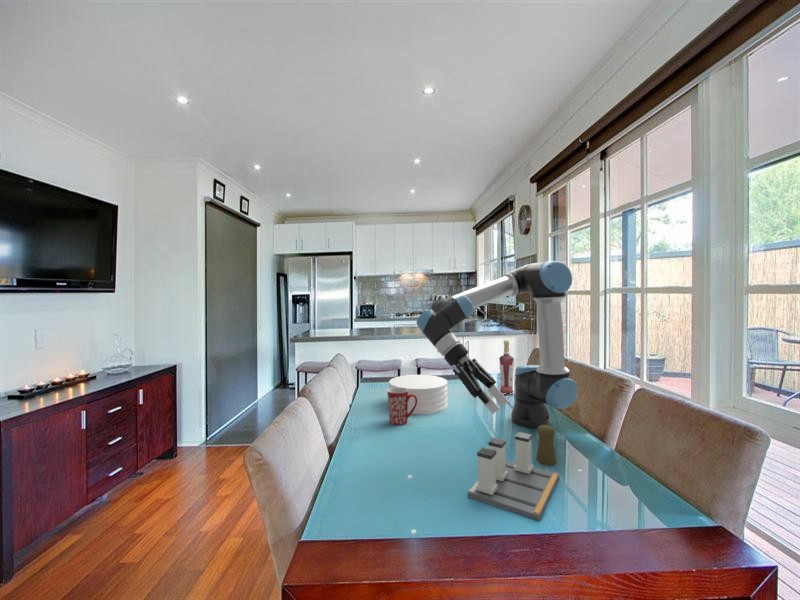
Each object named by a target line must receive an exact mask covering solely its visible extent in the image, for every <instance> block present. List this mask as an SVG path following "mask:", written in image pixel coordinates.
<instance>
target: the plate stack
mask: <svg viewBox="0 0 800 600" xmlns="http://www.w3.org/2000/svg"><path fill="white" fill-rule="evenodd" d="M388 386H389V387H388V389H390V388H395V387H402V388H407V389H408V395H410V394H414V395H416V397H417V405H416V408H415V409H414V411H413V412H412V414H411V415H431V414H436V413H440V412H442V411H441V410H443V411H445V410H446V409H447V408H448V400H449V399H448V394H449V393H448V380H447V379H446V378H444V377H441V376H436V375H429V374H428V375H427V374H408V375H406V374H405V375H400V376H396V377H393V378H391V379H390V380H389V381H388ZM414 405H415V398H414V397H410V398H409V401H408V408H407V413H410V411H411V410H412V409H413V407H414ZM446 407H447V408H446ZM445 408H446V409H445ZM439 411H440V412H439ZM435 412H436V413H435ZM430 413H431V414H430Z"/></svg>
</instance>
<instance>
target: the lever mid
mask: <svg viewBox="0 0 800 600" xmlns="http://www.w3.org/2000/svg"><path fill="white" fill-rule="evenodd" d="M487 443H488V449H491V450H496V480H500V481H504V479H505V478H506V477H507V475H508V472H507V471H506V459H507V457H506V455H507V454H506V452H507V451H506V450H507V449H506V444H507V440H506V439H502V438H497V437H493V436H492V437H491V439H490V440H489V441H488V442H487Z"/></svg>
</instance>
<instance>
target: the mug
mask: <svg viewBox="0 0 800 600" xmlns="http://www.w3.org/2000/svg"><path fill="white" fill-rule="evenodd" d="M386 392H387V393H386V394H387V404H388V417H389V423H390V424H391V425H395V426H402V425H405V424H407V423H408V418H409V417H410V416H411V415H413V414H412V412H413V411H414V409H415V408H416V405H417V397H416V395H414V394H410V395H408V389H407V388H402V387H395V388H390V389H389V388H388V389H387V390H386ZM410 397H414V398H415V405H414V407H413V409H412V410H411V411H410V413H407V408H408V401H409V398H410Z"/></svg>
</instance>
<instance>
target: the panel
mask: <svg viewBox="0 0 800 600" xmlns="http://www.w3.org/2000/svg"><path fill="white" fill-rule="evenodd" d="M515 465H516V462H514V461H511V460H508V459H507V460H506V471H507V472H508V475H507V477H506V478H505V479H504V481H500V480H496V484H498V489H497V490H496V491H495V493H494V494H493V495H490V494H487V493H484V492H481V491H478V490H476V486H477V485H478V480H476V481H475V483H474V484H473V485H472V486H471V487H470V488H469V490H468V491H467V497H468V498H470V499H473V500H476V501H480V502H483V503H485V504H489V505H491V506H495V507H498V508H501V509H504V510H507V511H510V512H513V513H514V514H515V513H516V514H517V515H521V516H523V517H527V518H531V519H533V520H536V521H539V522H540V521H541V518H542V516H543V514H544V512H545V510H546V508H547V506H548V503H549V501H550V500H551V499H550V498H551V497H552V495H553V493H554V491H555V489H556V486H557V484H558V482H559V480H560V473H556V472H553V471H548V470H544V469H541V468H537V467H534V466H533V470H532V471H531V473H530V474H527V473H523V472H520V471H516V470H514V466H515Z"/></svg>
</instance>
